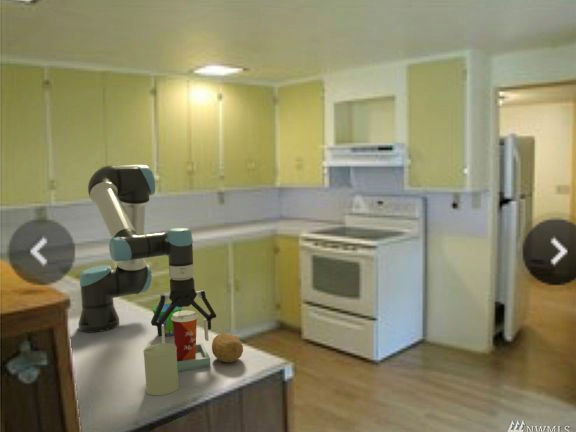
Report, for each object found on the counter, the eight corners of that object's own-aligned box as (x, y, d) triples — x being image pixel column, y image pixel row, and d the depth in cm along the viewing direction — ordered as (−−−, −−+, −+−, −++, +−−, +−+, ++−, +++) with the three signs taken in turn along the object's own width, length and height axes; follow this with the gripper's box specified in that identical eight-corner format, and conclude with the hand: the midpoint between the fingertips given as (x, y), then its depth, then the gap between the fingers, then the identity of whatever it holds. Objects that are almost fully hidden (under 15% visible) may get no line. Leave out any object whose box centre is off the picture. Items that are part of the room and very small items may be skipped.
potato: (233, 350, 172) (232, 327, 171) (250, 364, 160) (249, 339, 159) (205, 356, 167) (204, 332, 166) (221, 371, 155) (219, 345, 154)
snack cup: (183, 339, 184) (181, 311, 183) (153, 341, 182) (151, 314, 181) (183, 325, 199) (182, 300, 198) (155, 328, 197) (154, 302, 196)
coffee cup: (193, 365, 158) (191, 318, 156) (168, 363, 160) (166, 316, 158) (203, 354, 166) (201, 310, 165) (179, 353, 168) (177, 309, 166)
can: (148, 382, 149) (146, 342, 147) (180, 380, 150) (178, 340, 148) (142, 396, 140) (140, 354, 138) (176, 394, 140) (174, 352, 139)
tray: (163, 356, 168) (163, 348, 167) (203, 350, 172) (202, 342, 172) (167, 373, 155) (167, 364, 154) (210, 366, 159) (210, 357, 158)
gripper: (141, 284, 153) (145, 352, 155) (223, 275, 161) (226, 340, 163) (140, 279, 160) (144, 344, 162) (218, 271, 168) (221, 333, 170)
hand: (185, 342), depth 163 cm, fingers open, 13 cm apart
